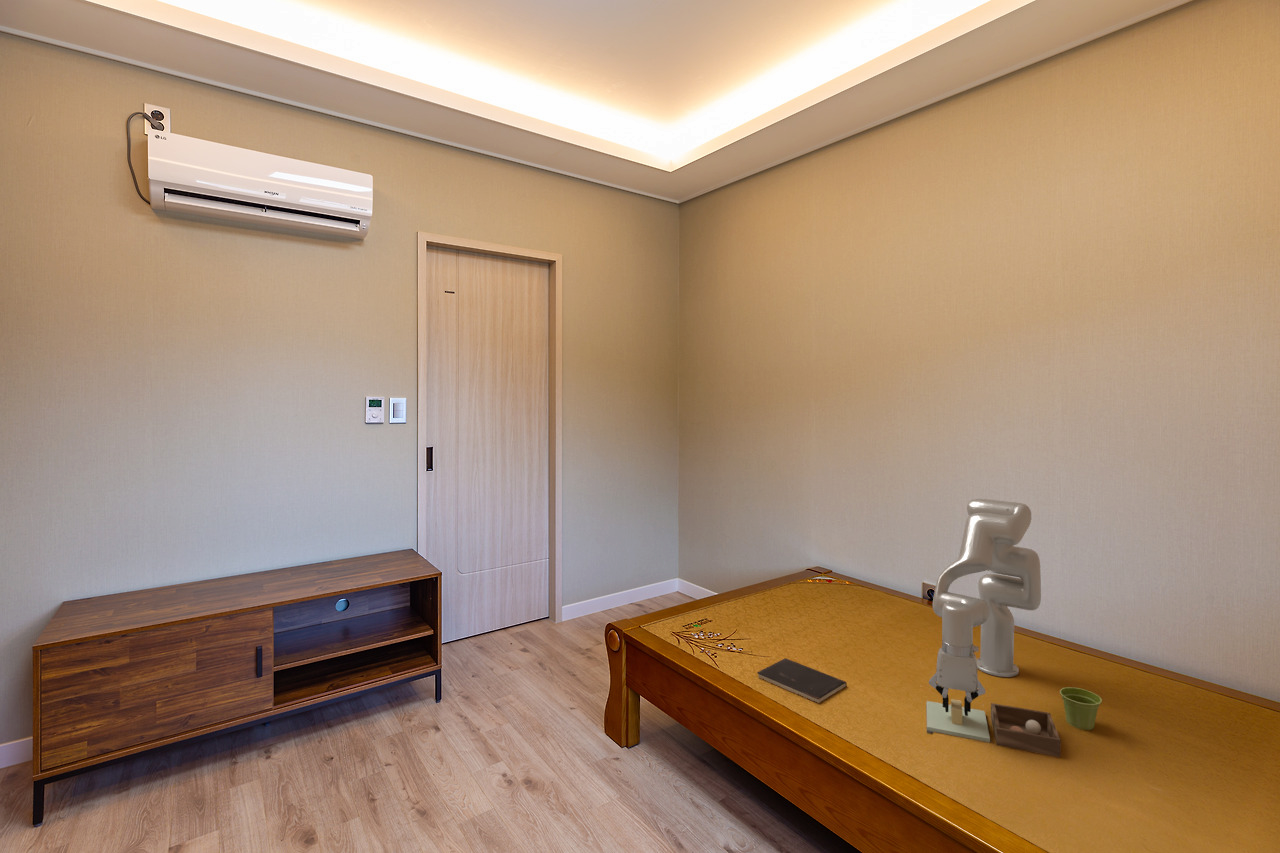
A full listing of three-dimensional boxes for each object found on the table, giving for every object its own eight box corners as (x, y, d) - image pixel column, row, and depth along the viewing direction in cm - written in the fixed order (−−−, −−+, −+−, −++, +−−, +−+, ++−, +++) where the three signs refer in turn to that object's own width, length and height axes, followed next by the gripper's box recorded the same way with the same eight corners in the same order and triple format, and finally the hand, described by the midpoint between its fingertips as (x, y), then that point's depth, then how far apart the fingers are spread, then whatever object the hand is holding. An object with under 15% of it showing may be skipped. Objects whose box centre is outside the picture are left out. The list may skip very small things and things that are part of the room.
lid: (926, 704, 181) (926, 687, 181) (984, 714, 175) (984, 697, 175) (927, 730, 168) (927, 712, 167) (989, 742, 161) (990, 724, 161)
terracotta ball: (1007, 734, 165) (1007, 721, 164) (1023, 737, 163) (1023, 724, 163) (1009, 741, 161) (1009, 728, 161) (1025, 745, 160) (1025, 731, 160)
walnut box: (990, 720, 173) (991, 702, 173) (1049, 730, 167) (1050, 712, 167) (996, 746, 160) (996, 728, 160) (1060, 759, 155) (1060, 740, 154)
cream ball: (1024, 728, 167) (1024, 716, 167) (1039, 731, 166) (1040, 718, 166) (1026, 735, 164) (1026, 722, 164) (1042, 738, 163) (1042, 725, 162)
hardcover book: (818, 705, 184) (818, 698, 184) (757, 679, 201) (757, 672, 201) (846, 688, 194) (846, 680, 194) (786, 664, 212) (786, 657, 211)
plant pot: (1083, 738, 164) (1084, 706, 163) (1050, 719, 173) (1051, 690, 172) (1109, 732, 166) (1110, 701, 166) (1076, 714, 175) (1077, 684, 175)
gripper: (990, 647, 170) (989, 711, 171) (923, 638, 177) (923, 699, 178) (993, 658, 163) (992, 724, 164) (923, 648, 170) (923, 712, 171)
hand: (956, 711), depth 171 cm, fingers open, 4 cm apart
